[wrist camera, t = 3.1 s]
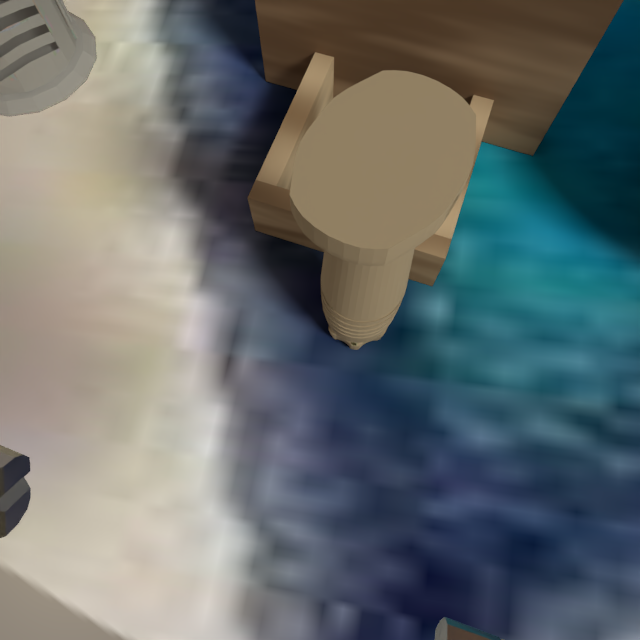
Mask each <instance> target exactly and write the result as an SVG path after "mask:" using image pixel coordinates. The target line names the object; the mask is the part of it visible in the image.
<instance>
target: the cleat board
mask: <svg viewBox="0 0 640 640" xmlns="http://www.w3.org/2000/svg"><path fill="white" fill-rule="evenodd" d="M622 2H623V0H255V4H256V11H257V19H258V26H259V34H260V41H261V49H262V56H263V64H264V71H265V79H266V81H267V82H270V83H274V84H278V85H281V86H285V87H288V88H292V89H296V90H297V92H296V94H295V97H294V99H293V101H292V103H291V105H290V107H289V110H288V112H287V114H286V116H285V118H284V120H283V122H282V125H281V127H280V129H279V131H278V133H277V135H276V138H275V140H274V142H273V144H272V146H271V148H270V150H269V153H268V155H267V157H266V159H265V161H264V163H263V166H262V168H261V170H260V172H259V174H258V176H257V178H256V181H255V183H254V185H253V187H252V189H251V191H250V194H249V196H248V202H249V206H250V210H251V214H252V219H253V223H254V227H255V231H259V232H262V233H265V234H268V235H271V236H274V237H278V238H281V239H284V240H287V241H290V242H294V243H297V244H300V245H303V246H306V247H309V248H313V249H316V250H319V251H322V252H324V250H323V249H321V248H320V247H318V246H317V245H315V244H314V243H313V242H312V241H311V240H310V239H309V238H308V237H307V236H305V234H304V233H303V231H302V230H301V229H300V227H299V226H298V224H297V222H296V220H295V218H294V216H293V214H292V211H291V204H290V188H291V181H292V174H293V168H294V162H295V156H296V153H297V150H298V147H299V143H300V141H301V140H302V138H303V136H304V135H305V133H306V131H307V130H308V129H309V127H310V126H311V125H312V123H313V122H314V121H315V119H316V118H317V117H318V116H319V114H320V113H321V112H322V110H323V109H324V108H325V107H326V106H327V105H328V104H329V103H330V102H331V100H332V99H333V98H334V97H336V96H337V95H339V94H340V93H342V92H343V91H344V90H346V89H348V88H349V87H351V86H353V85H355V84H357V83H359V82H361V81H363V80H365V79H367V78H369V77H371V76H373V75H375V74H377V73H379V72H381V71H385V70H398V71H409V72H413V73H417V74H421V75H424V76H426V77H429V78H431V79H434V80H436V81H438V82H440V83H442V84H444V85H446V86H447V87H449V88H451V89H452V90H454V91H455V92H456V93H458V94H459V95H460V96H462V97H463V99H464V100H465V101H466V102H467V103H468V104H469V105H470V107H471V108H472V110H473V111H474V113H475V114H476V147H475V156H474V161H473V166H472V169H471V171H470V174H469V177H468V179H467V182H466V184H465V186H464V189H463V191H462V193H461V195H460V196H459V198H458V200H457V202H456V203H455V205H454V207H453V208H452V210H451V212H450V213H449V215H448V216H447V218H446V219H445V221H444V222H443V224H442V225H441V227H440V228H439V229H438V230H437V231H436V233H435V234H433V235H432V236H431V237H429V238H428V239H427V240H425V241H424V242H423V243H422V244H420V245H419V246H417V247H416V248H415V250H414V254H413V259H412V263H411V268H410V273H409V278H408V279H411V280H414V281H417V282H420V283H423V284H427V285H430V286H433V284H434V282H435V280H436V278H437V276H438V273H439V271H440V269H441V267H442V265H443V263H444V261H445V259H446V255H447V252H448V249H449V246H450V242H451V239H452V236H453V233H454V229H455V226H456V223H457V219H458V216H459V213H460V210H461V206H462V203H463V200H464V197H465V193H466V190H467V187H468V183H469V180H470V177H471V174H472V170H473V167H474V164H475V161H476V157H477V154H478V151H479V148H480V144H481V141H482V142H486V143H489V144H493V145H496V146H500V147H504V148H507V149H511V150H514V151H518V152H521V153H525V154H529V155H532V156H533V155H534V153H535V151H536V149H537V148H538V146H539V144H540V143H541V141H542V139H543V137H544V136H545V134H546V132H547V131H548V129H549V127H550V125H551V124H552V122H553V120H554V119H555V117H556V115H557V113H558V112H559V110H560V108H561V107H562V105H563V103H564V101H565V100H566V98H567V96H568V95H569V93H570V91H571V89H572V88H573V86H574V84H575V83H576V81H577V79H578V77H579V76H580V74H581V72H582V71H583V69H584V67H585V65H586V64H587V62H588V60H589V59H590V57H591V55H592V53H593V52H594V50H595V48H596V47H597V45H598V43H599V41H600V40H601V38H602V36H603V35H604V33H605V31H606V29H607V28H608V26H609V24H610V23H611V21H612V19H613V17H614V16H615V14H616V12H617V11H618V9H619V7H620V5H621V4H622Z"/></svg>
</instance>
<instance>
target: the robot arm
mask: <svg viewBox="0 0 640 640" xmlns="http://www.w3.org/2000/svg"><path fill="white" fill-rule="evenodd" d="M28 472H30V460H29V457H27V456H25V455H22V454H20V453H18V452H15V451H13V450H11V449H8V448H6V447H4V446H1V445H0V538H2V537H5V536H6V535H7V534H8V533H9V532H10V531H11V530H12V529H13V528H14V527H15V526H16V525H17V524H18V523H19V521H20V520H21V518H22V516H23V515H24V513H25V512H26V510H27V507H28V504H29V501H30V487H29V485H28V483H27V482H26V480H25V479H24V476H25V475H26V474H27V473H28ZM435 640H503V639H500V638H499V637H497V636H494V635H492V634H489V633H486V632H484V631H481V630H478V629H476V628H473V627H470V626H468V625H465V624H462V623H459V622H457V621H454V620H451V619H449V618H446V617H444V618H443V619H442V620H440V622H439V624H438V626H437V628H436V631H435Z"/></svg>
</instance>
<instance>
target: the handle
mask: <svg viewBox="0 0 640 640" xmlns="http://www.w3.org/2000/svg"><path fill="white" fill-rule="evenodd" d="M475 147H476V114H475V113H474V111H473V110H472V108H471V107H470V105H469V104H468V103H467V102H466V101H465V100H464V99H463V97H462V96H460V95H459V94H458V93H456V92H455V91H454V90H452V89H451V88H449V87H447V86H446V85H444V84H442V83H440V82H438V81H436V80H434V79H431V78H429V77H426V76H424V75H421V74H417V73H413V72H409V71H398V70H385V71H381V72H379V73H377V74H375V75H373V76H371V77H369V78H367V79H365V80H363V81H361V82H359V83H357V84H355V85H353V86H351V87H349V88H348V89H346V90H344V91H343V92H342V93H340V94H339V95H337V96H336V97H334V98H333V99H332V100H331V102H330V103H329V104H328V105H327V106H326V107H325V108H324V109H323V110H322V112H321V113H320V114H319V116H318V117H317V118H316V119H315V121H314V122H313V123H312V125H311V126H310V127H309V129H308V130H307V131H306V133H305V135H304V136H303V138H302V140H301V141H300V143H299V147H298V150H297V153H296V156H295V162H294V168H293V174H292V181H291V188H290V204H291V211H292V214H293V216H294V218H295V220H296V222H297V224H298V226H299V227H300V229H301V230H302V231H303V233H304V234H305V236H307V237H308V238H309V239H310V240H311V241H312V242H313V243H314V244H315V245H317V246H318V247H320V248H321V249H323V250H324V257H323V265H322V272H321V299H322V305H323V310H324V314H325V317H326V320H327V322H328V324H329V327H328V329H329V332H330V334H331V335H332V337H333V338H334V339H338V340H341V341H343V342H345V343H346V344H347V345H348V346H349V347H350V349H355V350H358V349H359V348H360V347H361V346H362V345H364V344H365V343H367V342H369V341H373V340H376V341H377V340H379V339H380V338H381V337H382V336H383V335H384V333H385V332H386V330H387V327H388V326H389V324H390V323H391V322H392V320H393V318H394V316H395V314H396V312H397V310H398V309H399V306H400V304H401V301H402V299H403V296H404V294H405V291H406V287H407V282H408V278H409V273H410V268H411V263H412V259H413V254H414V250H415V248H416V247H417V246H419V245H420V244H422V243H423V242H424V241H425V240H427V239H428V238H429V237H431V236H432V235H433V234H435V233H436V231H437V230H438V229H439V228H440V227H441V225H442V224H443V222H444V221H445V219H446V218H447V216H448V215H449V213H450V212H451V210H452V208H453V207H454V205H455V203H456V202H457V200H458V198H459V196H460V195H461V193H462V191H463V189H464V186H465V184H466V182H467V179H468V177H469V174H470V171H471V169H472V166H473V161H474V156H475Z"/></svg>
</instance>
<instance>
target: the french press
mask: <svg viewBox="0 0 640 640" xmlns="http://www.w3.org/2000/svg"><path fill="white" fill-rule="evenodd" d="M95 60H96V42H95V36H94V35H93V33H92V32H91V30H90V29H89V27H88V26H87V24H86V23H85V21H84V20H83V19H81V18H79V17H77V16H76V15H74V14H72V13H70V12H69V11H67V9H66V7H65V5H64V3H63V1H62V0H0V115H4V116H16V115H23V114H29V113H36V112H40V111H43V110H45V109H47V108H49V107H51V106H53V105H55V104H57V103H59V102H61V101H64V100H66V99H67V98H68V97H69V96H70V95H71V94H72V93H73V92H75V91H76V90H77V89H78V88H79V87H80V86H81V85H82V84H83V83H84V82H85V81H86V80H87V78H88V76H89V74H90V71H91V69H92V67H93V65H94V63H95Z"/></svg>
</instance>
